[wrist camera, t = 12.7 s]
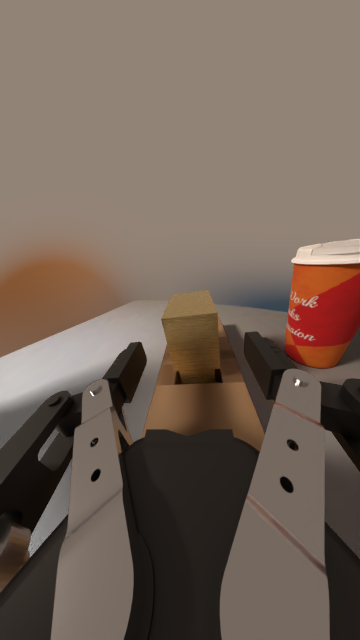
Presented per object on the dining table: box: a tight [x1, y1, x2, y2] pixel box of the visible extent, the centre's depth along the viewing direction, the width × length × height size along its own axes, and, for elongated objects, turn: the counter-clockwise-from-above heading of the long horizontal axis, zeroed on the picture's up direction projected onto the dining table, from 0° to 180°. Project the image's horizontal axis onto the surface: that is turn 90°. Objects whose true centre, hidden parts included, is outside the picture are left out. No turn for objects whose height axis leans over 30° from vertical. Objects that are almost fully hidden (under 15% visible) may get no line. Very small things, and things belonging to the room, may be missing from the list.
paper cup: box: [285, 239, 360, 369], centre depth 17 cm, size 8×8×14 cm
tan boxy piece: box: [161, 290, 220, 385], centre depth 17 cm, size 5×7×11 cm, turn 176°
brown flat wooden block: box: [142, 316, 265, 452], centre depth 18 cm, size 9×24×4 cm, turn 175°
